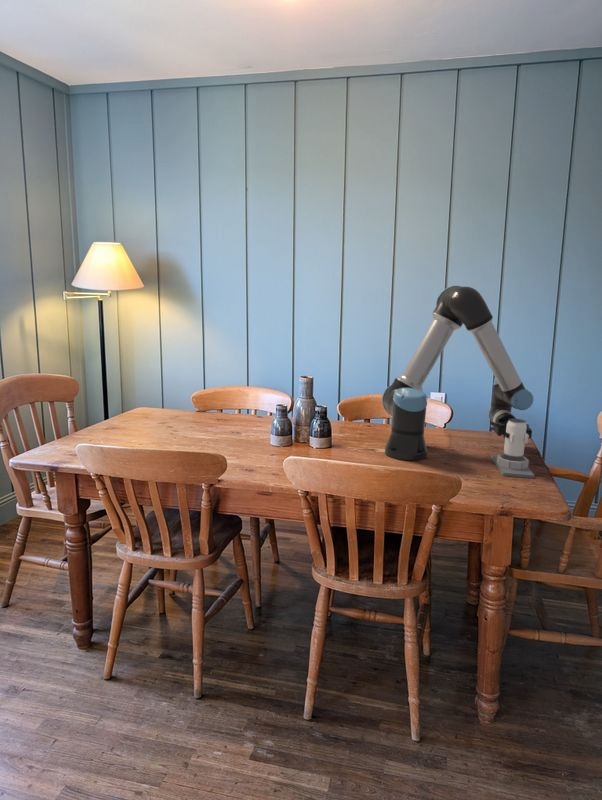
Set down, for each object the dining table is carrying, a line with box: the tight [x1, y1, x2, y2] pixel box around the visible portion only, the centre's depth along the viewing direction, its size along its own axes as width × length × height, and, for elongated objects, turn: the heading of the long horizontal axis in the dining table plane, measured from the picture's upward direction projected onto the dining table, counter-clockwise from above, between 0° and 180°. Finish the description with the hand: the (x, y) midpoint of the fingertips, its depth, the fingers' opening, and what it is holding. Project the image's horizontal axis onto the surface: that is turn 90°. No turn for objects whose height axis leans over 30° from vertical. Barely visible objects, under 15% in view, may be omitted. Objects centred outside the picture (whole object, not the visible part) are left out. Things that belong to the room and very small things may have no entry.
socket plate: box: [491, 452, 535, 479], centre depth 203 cm, size 10×20×4 cm, turn 173°
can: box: [503, 418, 527, 457], centre depth 201 cm, size 6×6×12 cm
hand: (520, 438), depth 196 cm, fingers closed on can, 4 cm apart
